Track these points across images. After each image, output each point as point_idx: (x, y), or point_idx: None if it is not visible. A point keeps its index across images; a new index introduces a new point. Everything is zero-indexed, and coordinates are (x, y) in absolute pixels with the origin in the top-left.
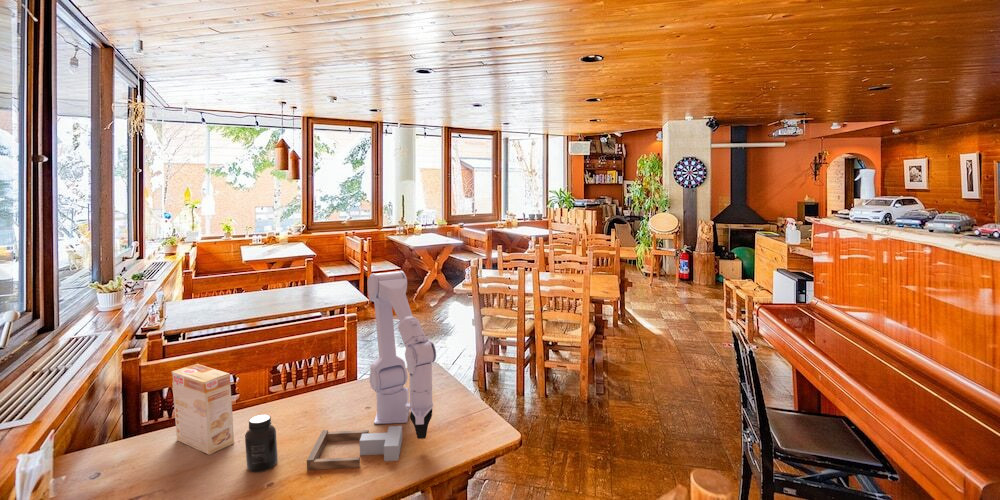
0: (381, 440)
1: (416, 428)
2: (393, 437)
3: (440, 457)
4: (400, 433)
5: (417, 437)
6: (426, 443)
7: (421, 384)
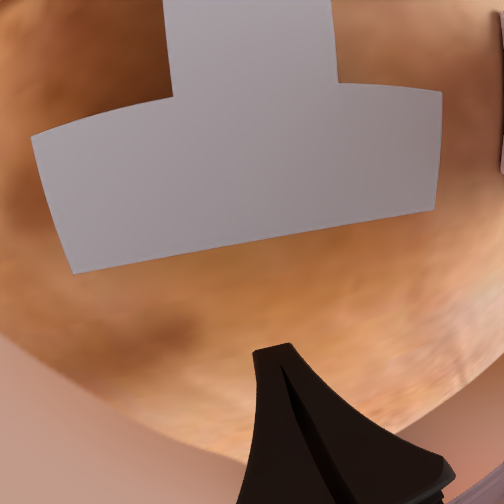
0: (169, 50)
1: (259, 428)
2: (227, 178)
3: (181, 393)
4: (311, 230)
5: (254, 359)
6: (310, 316)
7: None
